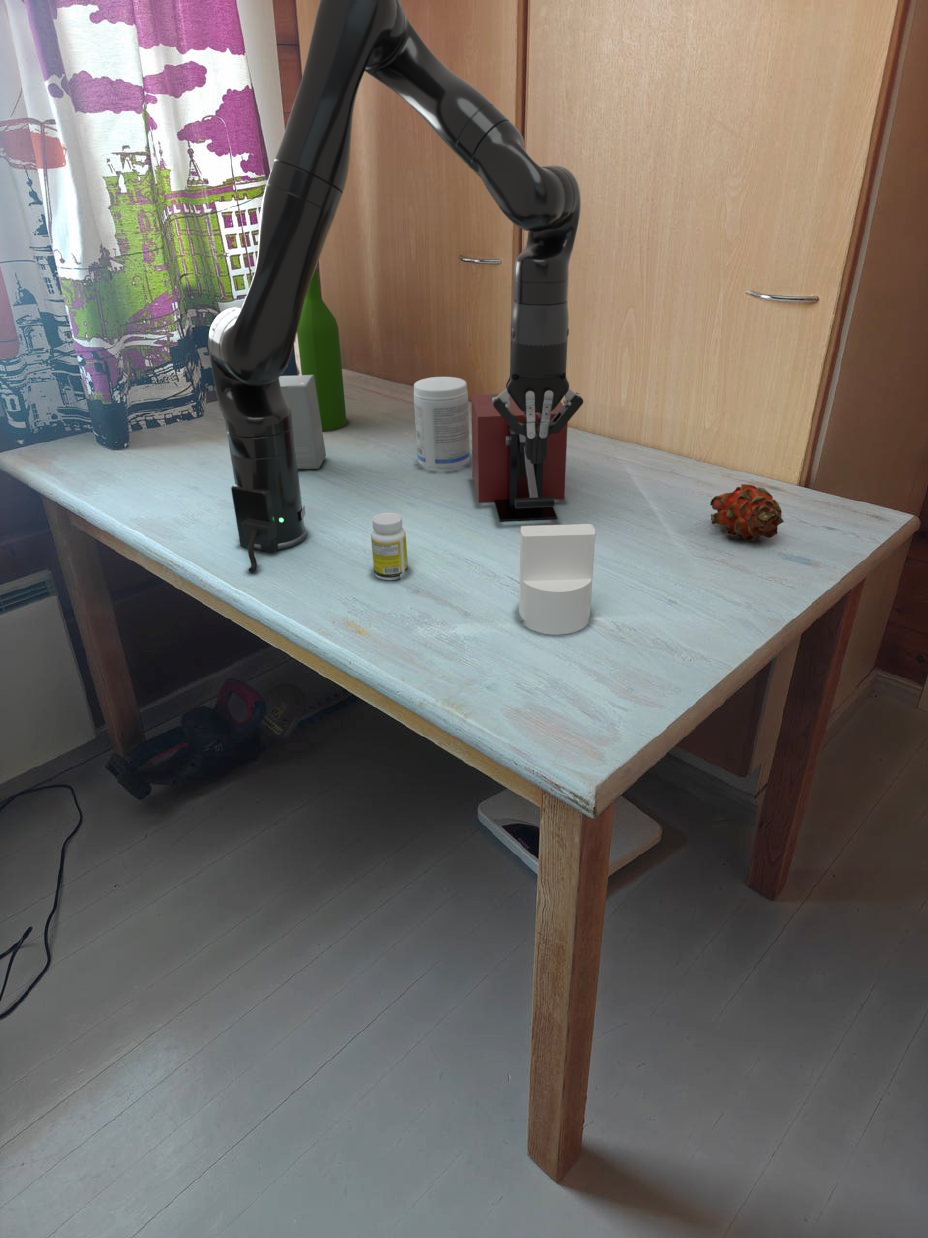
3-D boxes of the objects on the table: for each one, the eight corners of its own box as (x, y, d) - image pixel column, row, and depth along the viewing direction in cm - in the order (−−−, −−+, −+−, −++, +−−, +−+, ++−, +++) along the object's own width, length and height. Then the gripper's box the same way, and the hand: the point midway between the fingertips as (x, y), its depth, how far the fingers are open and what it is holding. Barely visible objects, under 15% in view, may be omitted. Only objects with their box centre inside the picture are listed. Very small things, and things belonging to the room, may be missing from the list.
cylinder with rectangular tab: (584, 598, 115) (589, 514, 109) (595, 633, 108) (601, 545, 102) (515, 600, 115) (517, 516, 109) (522, 635, 107) (523, 547, 101)
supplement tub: (477, 458, 162) (477, 378, 155) (457, 475, 155) (455, 392, 147) (430, 452, 165) (427, 373, 158) (408, 468, 158) (403, 387, 151)
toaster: (564, 503, 143) (568, 412, 135) (478, 507, 142) (477, 416, 134) (552, 476, 153) (555, 391, 146) (472, 480, 152) (471, 394, 145)
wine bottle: (300, 420, 184) (280, 253, 167) (342, 415, 186) (327, 250, 169) (306, 433, 176) (287, 260, 160) (350, 428, 179) (335, 257, 162)
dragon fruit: (774, 562, 127) (709, 545, 136) (805, 517, 128) (738, 503, 138) (754, 525, 122) (686, 510, 131) (786, 479, 123) (717, 467, 132)
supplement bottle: (390, 562, 125) (387, 508, 121) (415, 571, 123) (412, 516, 119) (366, 574, 122) (362, 519, 118) (391, 584, 120) (387, 528, 115)
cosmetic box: (326, 458, 163) (318, 373, 155) (317, 472, 157) (308, 384, 149) (282, 457, 164) (271, 372, 156) (271, 471, 158) (259, 383, 150)
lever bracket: (557, 524, 136) (560, 438, 129) (499, 526, 135) (499, 440, 128) (547, 499, 145) (549, 417, 138) (492, 501, 144) (492, 419, 137)
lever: (553, 510, 129) (555, 500, 127) (515, 512, 128) (516, 501, 126) (541, 437, 136) (543, 427, 134) (505, 439, 136) (506, 428, 133)
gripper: (583, 328, 119) (576, 451, 128) (486, 331, 119) (486, 454, 127) (594, 341, 113) (586, 469, 121) (492, 343, 112) (491, 472, 121)
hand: (535, 461), depth 124 cm, fingers closed
